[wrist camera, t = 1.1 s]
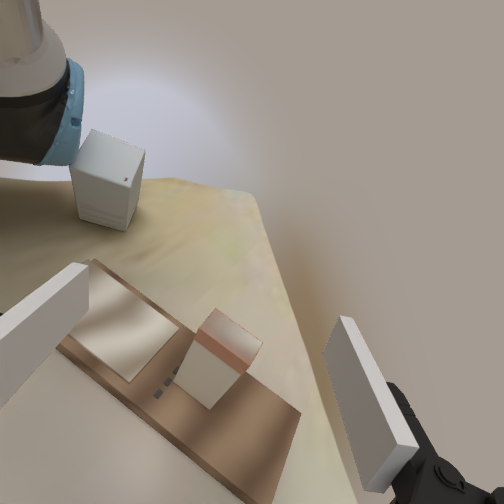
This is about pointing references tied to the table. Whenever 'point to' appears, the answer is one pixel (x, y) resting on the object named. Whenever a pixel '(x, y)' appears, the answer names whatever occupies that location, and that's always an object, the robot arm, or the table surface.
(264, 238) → the table surface
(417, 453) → the robot arm
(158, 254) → the table surface
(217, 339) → the stub
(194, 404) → the board
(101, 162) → the supplement box
